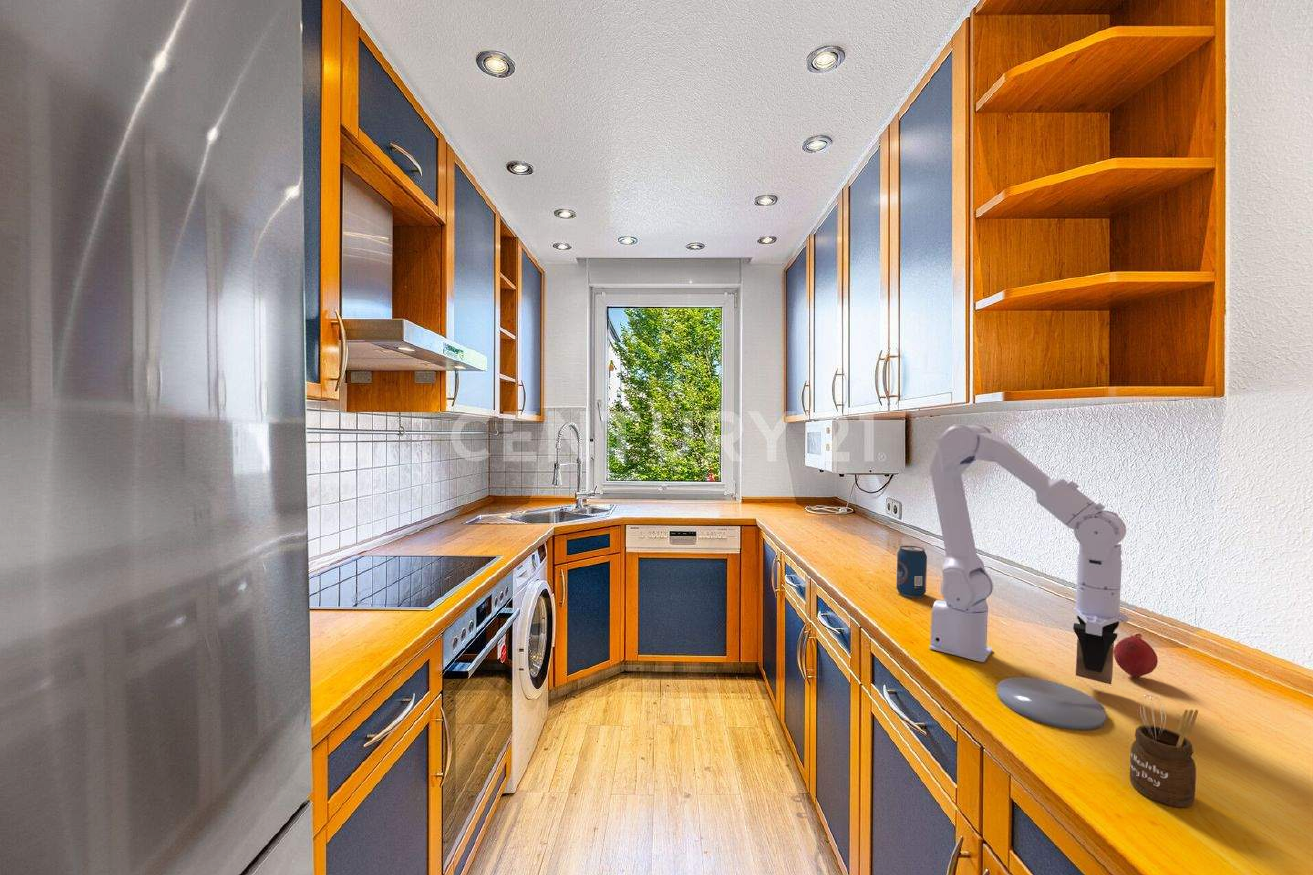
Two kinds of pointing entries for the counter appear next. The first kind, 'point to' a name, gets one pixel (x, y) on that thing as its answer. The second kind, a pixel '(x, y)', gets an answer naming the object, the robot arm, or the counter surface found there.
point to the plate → (1051, 703)
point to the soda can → (911, 571)
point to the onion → (1135, 656)
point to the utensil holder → (1164, 762)
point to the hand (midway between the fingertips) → (1094, 664)
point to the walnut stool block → (1093, 675)
